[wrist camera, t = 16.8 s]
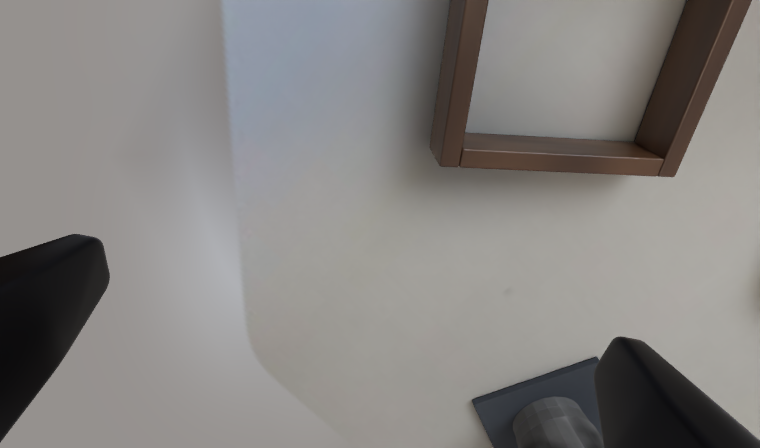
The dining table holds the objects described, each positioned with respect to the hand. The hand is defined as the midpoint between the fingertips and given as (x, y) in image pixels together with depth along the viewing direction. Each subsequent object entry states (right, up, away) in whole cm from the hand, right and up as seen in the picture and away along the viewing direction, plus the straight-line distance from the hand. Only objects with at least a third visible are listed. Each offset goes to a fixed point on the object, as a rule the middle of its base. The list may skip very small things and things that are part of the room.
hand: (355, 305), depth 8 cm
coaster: (+11, -11, +21) cm, 27 cm away
